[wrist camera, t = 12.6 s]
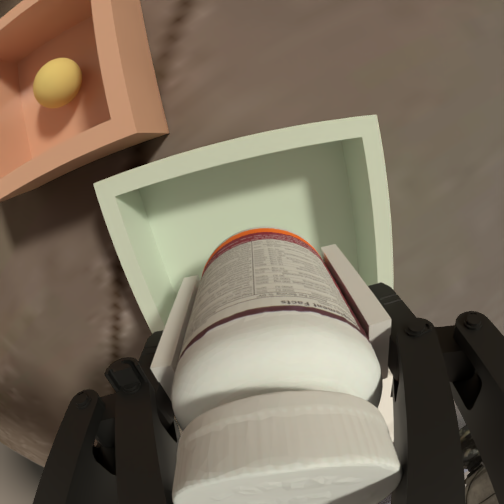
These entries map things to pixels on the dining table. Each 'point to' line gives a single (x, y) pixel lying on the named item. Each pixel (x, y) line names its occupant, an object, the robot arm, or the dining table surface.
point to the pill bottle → (278, 384)
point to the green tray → (251, 204)
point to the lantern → (475, 472)
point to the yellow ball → (57, 83)
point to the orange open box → (89, 96)
